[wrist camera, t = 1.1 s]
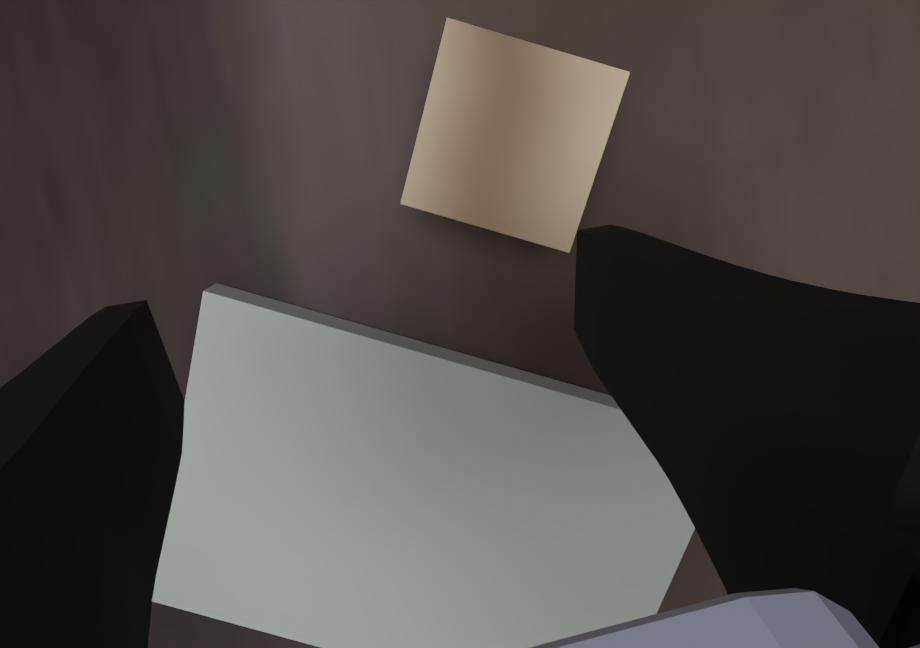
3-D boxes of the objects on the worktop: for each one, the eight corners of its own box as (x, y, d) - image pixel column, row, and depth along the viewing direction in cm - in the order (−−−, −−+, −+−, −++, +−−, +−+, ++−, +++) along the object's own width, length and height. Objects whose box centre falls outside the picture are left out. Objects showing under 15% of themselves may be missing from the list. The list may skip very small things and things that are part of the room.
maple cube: (602, 84, 22) (630, 72, 17) (555, 227, 24) (569, 253, 19) (458, 41, 22) (446, 17, 17) (420, 188, 23) (400, 203, 19)
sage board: (723, 427, 25) (734, 442, 24) (602, 701, 29) (605, 725, 28) (217, 283, 25) (203, 290, 24) (165, 582, 29) (151, 601, 28)
